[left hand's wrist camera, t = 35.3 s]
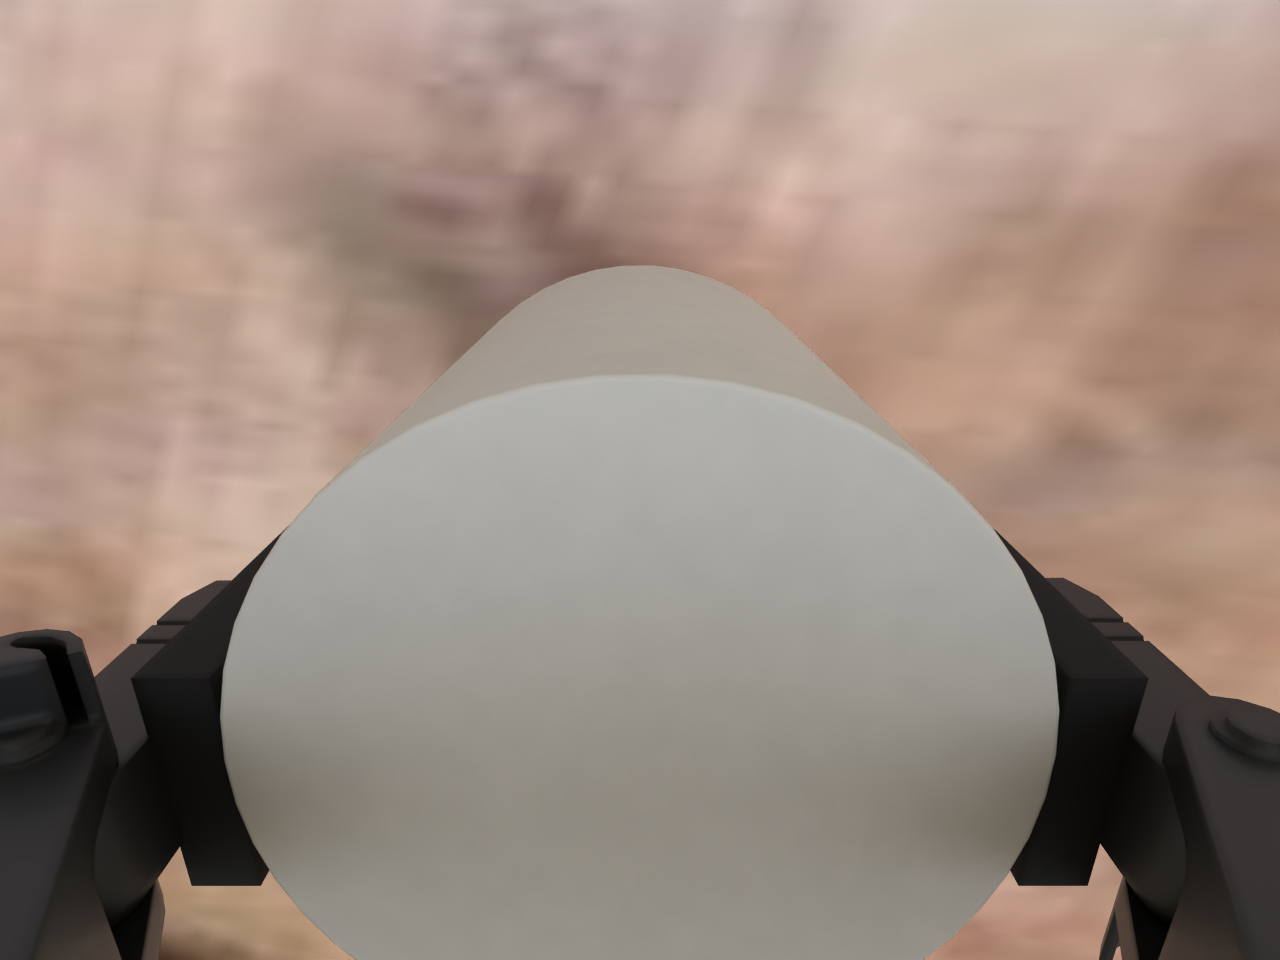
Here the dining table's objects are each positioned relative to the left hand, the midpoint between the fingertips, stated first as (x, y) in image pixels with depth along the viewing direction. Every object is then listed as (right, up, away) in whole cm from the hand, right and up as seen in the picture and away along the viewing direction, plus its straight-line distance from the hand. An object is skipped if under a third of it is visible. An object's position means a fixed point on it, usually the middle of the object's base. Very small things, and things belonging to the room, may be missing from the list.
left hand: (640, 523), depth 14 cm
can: (0, +1, +2) cm, 2 cm away
